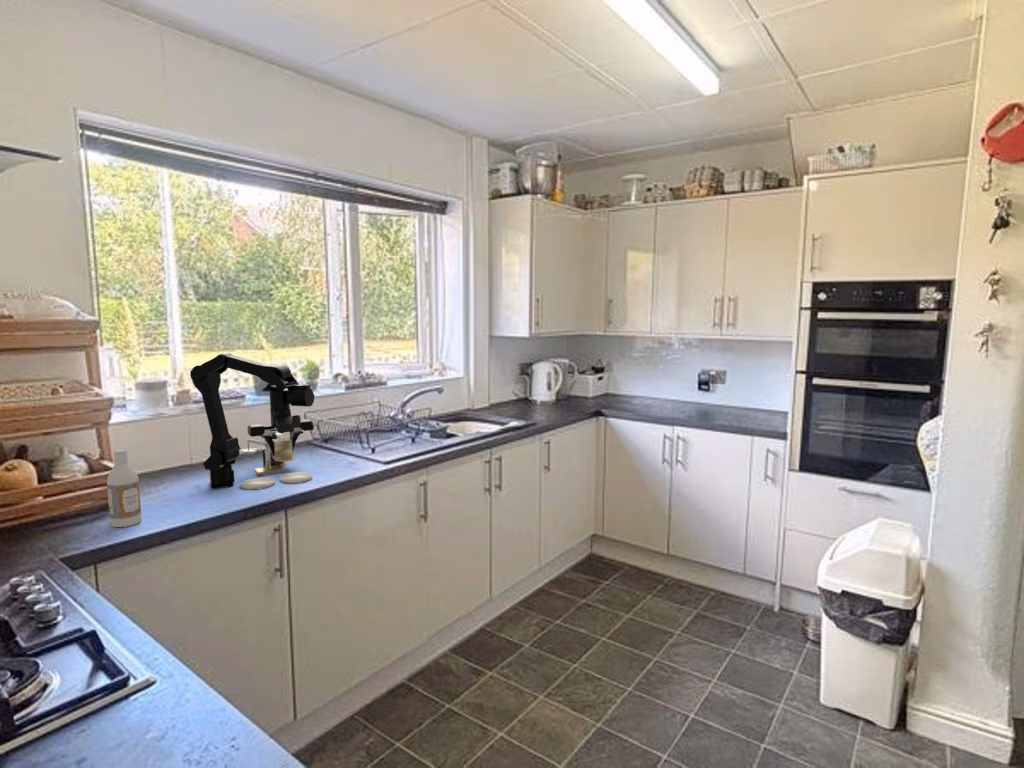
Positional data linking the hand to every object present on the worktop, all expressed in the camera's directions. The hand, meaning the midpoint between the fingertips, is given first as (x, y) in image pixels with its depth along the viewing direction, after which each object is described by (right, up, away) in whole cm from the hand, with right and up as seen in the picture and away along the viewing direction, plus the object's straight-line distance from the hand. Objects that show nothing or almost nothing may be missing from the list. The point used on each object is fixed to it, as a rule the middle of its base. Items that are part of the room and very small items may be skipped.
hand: (282, 454), depth 184 cm
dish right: (0, -10, +12) cm, 16 cm away
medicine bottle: (-14, -8, +30) cm, 34 cm away
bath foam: (-30, -15, -29) cm, 44 cm away
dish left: (-10, -11, +6) cm, 16 cm away
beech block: (0, -1, 0) cm, 1 cm away
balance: (-13, -9, +20) cm, 26 cm away
